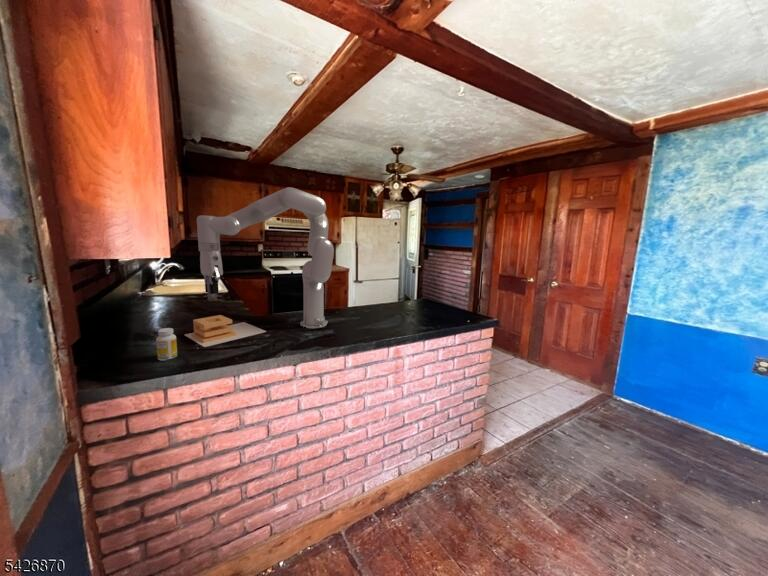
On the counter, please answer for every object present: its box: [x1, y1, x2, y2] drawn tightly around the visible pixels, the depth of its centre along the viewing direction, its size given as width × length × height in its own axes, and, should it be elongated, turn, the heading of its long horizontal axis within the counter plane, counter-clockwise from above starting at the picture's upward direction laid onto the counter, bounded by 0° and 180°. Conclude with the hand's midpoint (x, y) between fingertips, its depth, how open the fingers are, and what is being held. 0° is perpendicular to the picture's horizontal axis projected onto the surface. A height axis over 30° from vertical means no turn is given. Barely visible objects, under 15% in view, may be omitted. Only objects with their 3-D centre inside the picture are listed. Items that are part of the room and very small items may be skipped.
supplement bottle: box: [155, 327, 178, 362], centre depth 107 cm, size 6×6×10 cm
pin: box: [206, 275, 218, 302], centre depth 126 cm, size 3×3×10 cm
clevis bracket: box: [190, 314, 236, 343], centre depth 129 cm, size 12×13×7 cm
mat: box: [184, 321, 267, 348], centre depth 134 cm, size 20×26×1 cm
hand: (212, 292), depth 126 cm, fingers closed on pin, 3 cm apart
